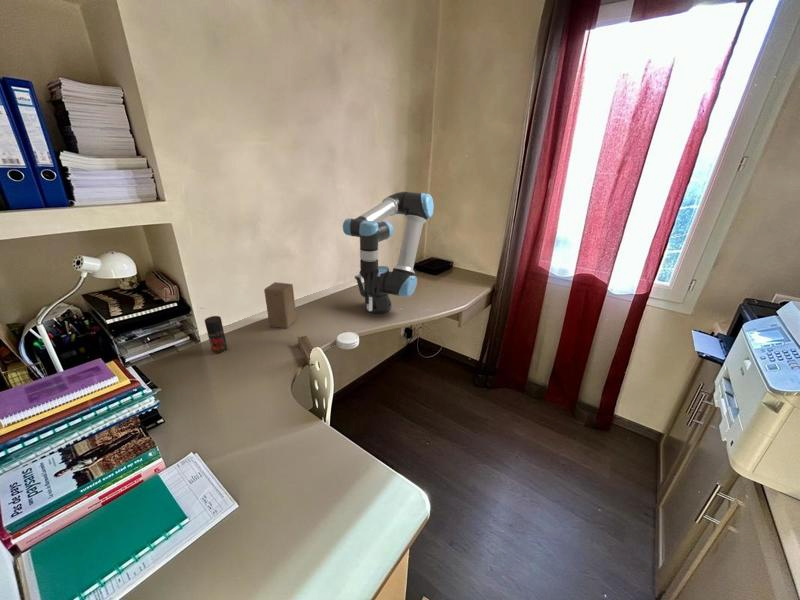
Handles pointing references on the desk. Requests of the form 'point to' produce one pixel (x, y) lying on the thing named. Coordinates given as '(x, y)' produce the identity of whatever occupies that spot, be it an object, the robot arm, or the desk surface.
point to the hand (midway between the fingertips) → (369, 309)
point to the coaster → (347, 340)
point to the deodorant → (216, 334)
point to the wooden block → (280, 304)
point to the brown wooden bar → (305, 347)
